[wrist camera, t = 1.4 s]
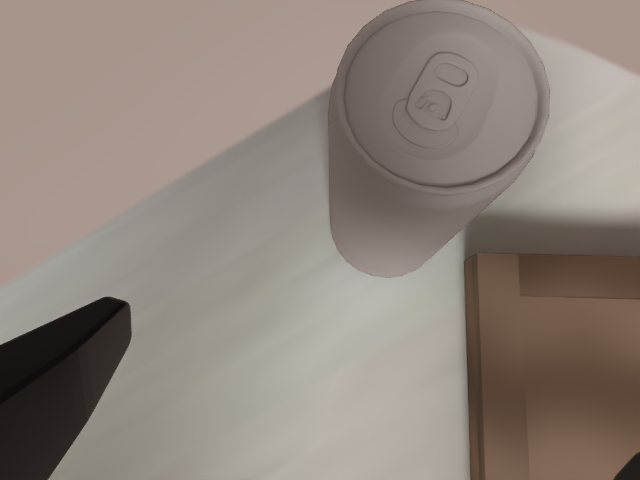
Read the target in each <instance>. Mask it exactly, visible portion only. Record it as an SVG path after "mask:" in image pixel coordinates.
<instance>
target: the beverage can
mask: <svg viewBox="0 0 640 480" xmlns="http://www.w3.org/2000/svg"><path fill="white" fill-rule="evenodd" d="M549 102H550V88H549V84H548V80H547V77H546V73H545V69H544V65H543V63H542V61H541V60H540V58H539V56H538V54H537V53H536V51H535V49H534V47H533V46H532V44H531V42H530V41H529V40H528V39H527V38H526V37H525V36H524V35H523V34H522V33H521V32H520V31H519V30H518V29H517V28H516V27H515V26H514V25H513V24H512V23H511V22H509V21H508V20H506V19H504V18H503V17H501V16H500V15H498V14H496V13H495V12H493V11H491V10H490V9H488V8H485V7H482V6H479V5H475V4H473V3H470V2H467V1H464V0H416V1H409V2H407V3H404V4H402V5H399V6H396V7H394V8H391V9H389V10H386V11H384V12H383V13H382V14H380V15H379V16H377V17H376V18H375V19H373V20H372V21H370V22H369V23H368V24H366V25H365V26H364V27H363V28H362V29H361V30H360V32H359V33H358V34H357V35H356V36H355V38H354V39H353V40H352V41H351V42H350V44H349V45H348V46H347V49H346V51H345V53H344V56H343V58H342V60H341V62H340V65H339V67H338V70H337V74H336V77H335V79H334V81H333V84H332V89H331V96H330V103H329V110H328V131H329V187H330V226H331V233H332V238H333V240H334V243H335V245H336V247H337V250H338V251H339V252H340V254H341V255H342V256H343V257H344V259H345V260H346V261H347V262H348V263H349V264H351V265H352V266H353V267H355V268H356V269H357V270H359V271H361V272H364V273H366V274H369V275H371V276H377V277H384V278H390V277H397V276H403V275H405V274H408V273H410V272H412V271H415V270H416V269H418V268H419V267H420V266H421V265H423V264H424V263H425V262H426V261H428V260H429V259H430V258H431V257H432V256H433V255H434V254H435V253H436V252H437V251H439V250H440V249H441V248H442V247H443V246H444V245H445V244H446V243H447V242H448V241H450V240H451V239H452V238H453V237H454V236H455V235H456V234H457V233H458V232H459V231H461V230H462V229H463V228H464V227H465V226H466V225H467V224H468V223H469V222H470V221H472V220H473V219H474V218H475V217H476V216H477V215H478V214H479V213H480V212H481V211H482V210H484V209H485V208H486V207H487V206H488V205H489V204H490V203H491V202H492V201H493V200H495V199H496V198H497V197H498V196H499V195H500V194H501V193H502V192H503V191H504V190H506V189H507V188H508V187H509V186H510V185H511V184H512V183H513V182H514V181H515V180H516V179H517V178H518V176H519V175H520V173H521V172H522V171H523V169H524V168H525V166H526V165H527V164H528V162H529V161H530V159H531V158H532V157H533V154H534V151H535V148H536V147H537V145H538V144H539V142H540V141H541V138H542V135H543V132H544V129H545V126H546V123H547V120H548V117H549Z"/></svg>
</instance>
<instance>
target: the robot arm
mask: <svg viewBox="0 0 640 480" xmlns="http://www.w3.org/2000/svg"><path fill="white" fill-rule="evenodd" d="M131 334H132V332H131V312H130V305H129V304H128V302H126V301H123V300H120V299H116V298H113V297H103V298H101V299H99V300H97V301H94V302H92V303H90V304H88V305H86V306H84V307H81V308H79V309H77V310H75V311H73V312H71V313H69V314H66V315H64V316H62V317H60V318H58V319H56V320H53V321H51V322H49V323H47V324H45V325H43V326H40V327H38V328H36V329H34V330H32V331H30V332H28V333H25V334H23V335H21V336H19V337H17V338H15V339H12V340H10V341H8V342H6V343H4V344H2V345H0V480H48V478H49V477H50V476H51V474H52V473H53V471H54V470H55V468H56V467H57V465H58V464H59V462H60V461H61V460H62V458H63V457H64V455H65V454H66V452H67V451H68V449H69V448H70V446H71V445H72V444H73V442H74V441H75V439H76V438H77V436H78V435H79V433H80V432H81V430H82V429H83V427H84V426H85V424H86V423H87V421H88V419H89V418H90V416H91V414H92V412H93V411H94V409H95V407H96V405H97V403H98V402H99V400H100V398H101V396H102V394H103V392H104V391H105V389H106V387H107V385H108V383H109V381H110V379H111V378H112V376H113V374H114V372H115V370H116V368H117V367H118V365H119V363H120V361H121V359H122V357H123V355H124V354H125V352H126V350H127V348H128V346H129V343H130V340H131ZM613 480H640V452H638V453H636V454H635V455H634V456H633V457H632V458H631V459H630V460H629V461H628V462H627V463H626V465H625V466H624V467H623V468H622V469H621V470H620V471H619V472H618V473H617V474H616V476H615V477H614V479H613Z"/></svg>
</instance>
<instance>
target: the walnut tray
mask: <svg viewBox="0 0 640 480" xmlns="http://www.w3.org/2000/svg"><path fill="white" fill-rule="evenodd" d="M464 268H465V301H466V334H467V366H468V399H469V432H470V464H471V480H613V479H614V477H615V476H616V474H617V473H618V472H619V471H620V470H621V469H622V468H623V467H624V466H625V465H626V463H627V462H628V461H629V460H630V459H631V458H632V457H633V456H634V455H635V454H636V453H638V452H640V257H626V256H587V255H547V254H508V253H476V254H475V255H473V256H471V257H470V258H468V259H467V260H465V261H464Z"/></svg>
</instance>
